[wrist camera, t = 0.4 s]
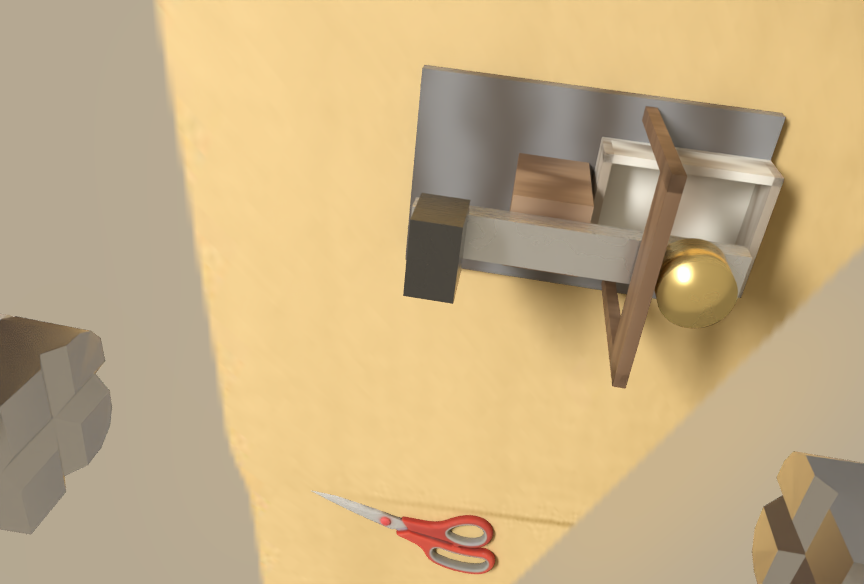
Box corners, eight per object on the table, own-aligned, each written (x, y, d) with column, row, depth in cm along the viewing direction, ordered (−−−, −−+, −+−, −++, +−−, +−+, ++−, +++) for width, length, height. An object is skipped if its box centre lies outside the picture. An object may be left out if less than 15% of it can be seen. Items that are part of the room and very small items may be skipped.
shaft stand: (407, 253, 59) (368, 352, 47) (424, 65, 51) (383, 123, 39) (716, 302, 57) (759, 417, 45) (781, 113, 49) (855, 190, 37)
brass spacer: (661, 233, 43) (668, 255, 41) (736, 244, 43) (748, 267, 40) (643, 296, 45) (648, 321, 43) (714, 307, 45) (724, 333, 42)
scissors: (299, 477, 74) (295, 487, 72) (504, 518, 72) (503, 529, 71) (298, 528, 78) (293, 539, 76) (492, 568, 76) (491, 580, 75)
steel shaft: (410, 253, 48) (395, 294, 43) (417, 182, 45) (401, 218, 41) (726, 302, 46) (746, 350, 42) (751, 231, 44) (775, 274, 39)
